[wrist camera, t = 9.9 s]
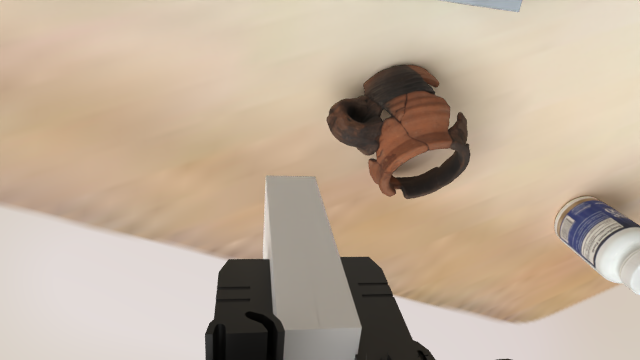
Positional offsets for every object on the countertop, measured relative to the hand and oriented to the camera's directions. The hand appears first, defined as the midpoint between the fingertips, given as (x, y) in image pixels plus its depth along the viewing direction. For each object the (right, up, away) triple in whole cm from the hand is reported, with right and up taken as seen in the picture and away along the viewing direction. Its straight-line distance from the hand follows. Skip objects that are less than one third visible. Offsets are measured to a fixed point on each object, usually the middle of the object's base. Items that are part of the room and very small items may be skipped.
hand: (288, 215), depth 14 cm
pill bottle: (+27, -3, +32) cm, 42 cm away
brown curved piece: (+7, +6, +25) cm, 27 cm away
